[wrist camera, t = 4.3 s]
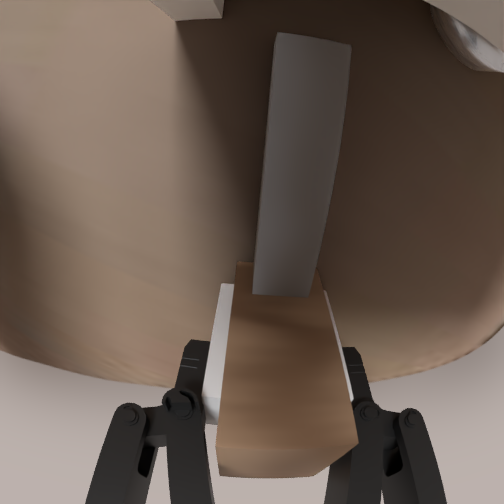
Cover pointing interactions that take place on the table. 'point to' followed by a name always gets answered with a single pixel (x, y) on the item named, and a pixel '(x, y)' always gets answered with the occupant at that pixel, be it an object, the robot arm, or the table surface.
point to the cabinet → (454, 3)
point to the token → (467, 43)
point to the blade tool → (289, 284)
